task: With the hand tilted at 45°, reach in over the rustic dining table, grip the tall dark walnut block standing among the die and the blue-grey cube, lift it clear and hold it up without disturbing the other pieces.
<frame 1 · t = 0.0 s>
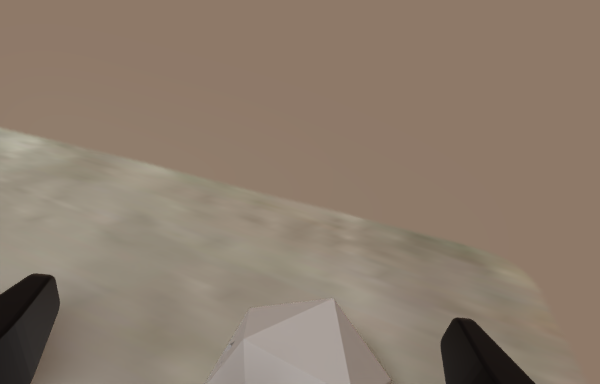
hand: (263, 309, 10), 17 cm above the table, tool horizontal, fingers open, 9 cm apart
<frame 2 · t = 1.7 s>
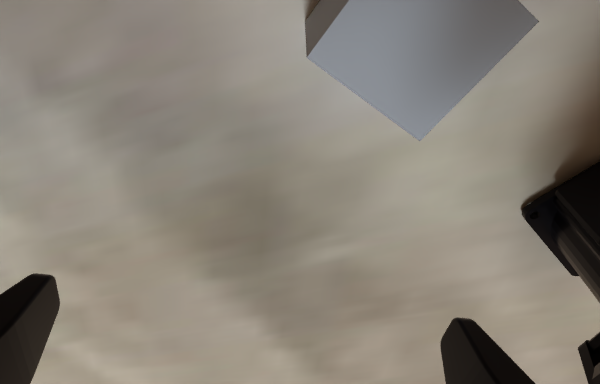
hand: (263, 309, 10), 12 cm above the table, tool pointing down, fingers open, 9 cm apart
slate cube: (391, 7, 17), on the table
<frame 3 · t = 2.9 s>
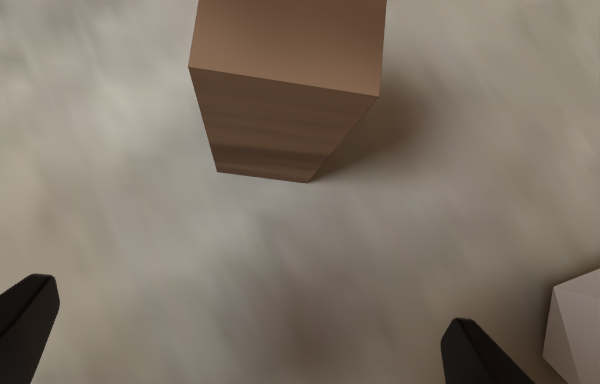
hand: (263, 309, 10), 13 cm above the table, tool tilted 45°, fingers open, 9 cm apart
walnut block: (267, 134, 24), on the table
die: (580, 331, 25), on the table
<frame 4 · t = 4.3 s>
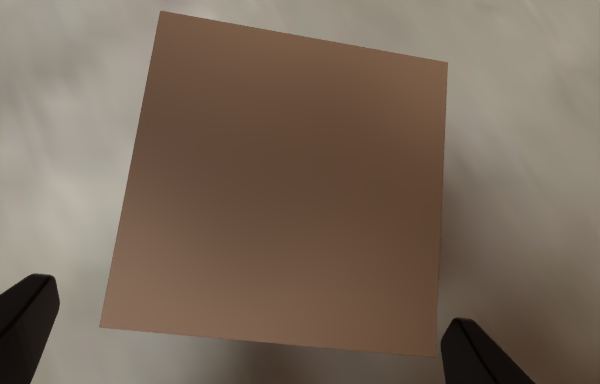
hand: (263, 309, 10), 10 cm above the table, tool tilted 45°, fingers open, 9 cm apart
walnut block: (257, 238, 19), on the table
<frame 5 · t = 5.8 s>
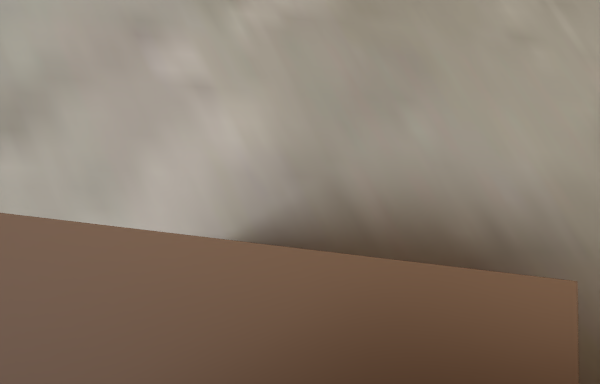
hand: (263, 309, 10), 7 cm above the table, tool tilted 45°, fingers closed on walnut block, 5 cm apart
walnut block: (247, 330, 16), on the table, touching gripper
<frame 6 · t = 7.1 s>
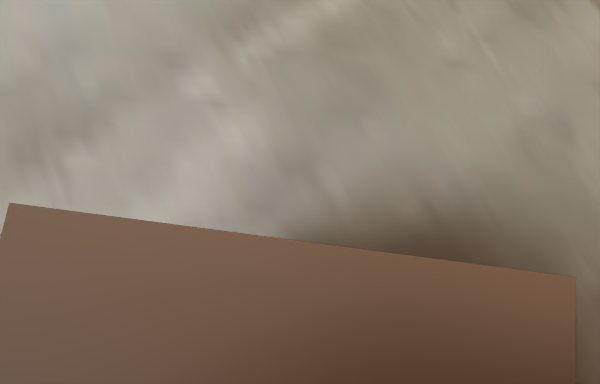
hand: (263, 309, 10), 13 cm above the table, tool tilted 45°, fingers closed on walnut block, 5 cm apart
walnut block: (251, 329, 16), point 6 cm above the table, touching gripper
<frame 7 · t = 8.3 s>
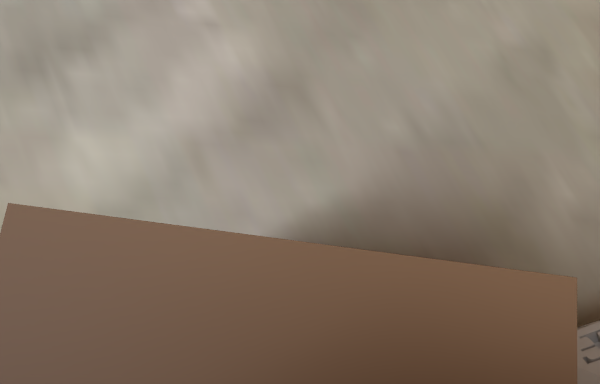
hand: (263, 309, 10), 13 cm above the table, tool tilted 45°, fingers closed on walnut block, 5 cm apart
walnut block: (251, 329, 16), point 7 cm above the table, touching gripper
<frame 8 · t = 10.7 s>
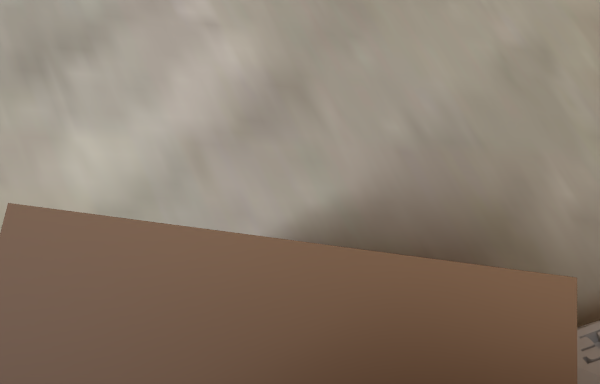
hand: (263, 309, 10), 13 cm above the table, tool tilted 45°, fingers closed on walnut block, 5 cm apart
walnut block: (251, 329, 16), point 7 cm above the table, touching gripper
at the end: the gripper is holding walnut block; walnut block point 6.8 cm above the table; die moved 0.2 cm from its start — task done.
